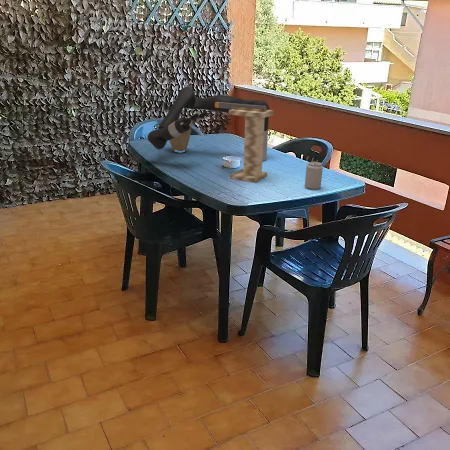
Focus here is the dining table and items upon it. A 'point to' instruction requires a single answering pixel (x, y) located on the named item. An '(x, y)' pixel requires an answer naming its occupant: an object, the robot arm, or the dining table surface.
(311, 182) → the can
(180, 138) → the plant pot
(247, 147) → the stand
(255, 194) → the dining table surface
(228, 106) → the bar
